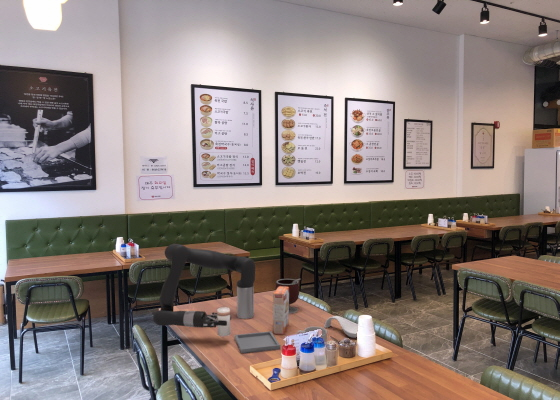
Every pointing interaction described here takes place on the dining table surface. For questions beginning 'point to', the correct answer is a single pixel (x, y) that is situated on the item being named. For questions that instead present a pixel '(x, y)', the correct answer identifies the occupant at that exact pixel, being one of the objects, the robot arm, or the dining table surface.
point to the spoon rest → (344, 325)
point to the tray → (257, 342)
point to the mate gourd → (290, 291)
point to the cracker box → (280, 310)
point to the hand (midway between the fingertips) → (228, 320)
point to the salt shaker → (224, 315)
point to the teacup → (324, 331)
